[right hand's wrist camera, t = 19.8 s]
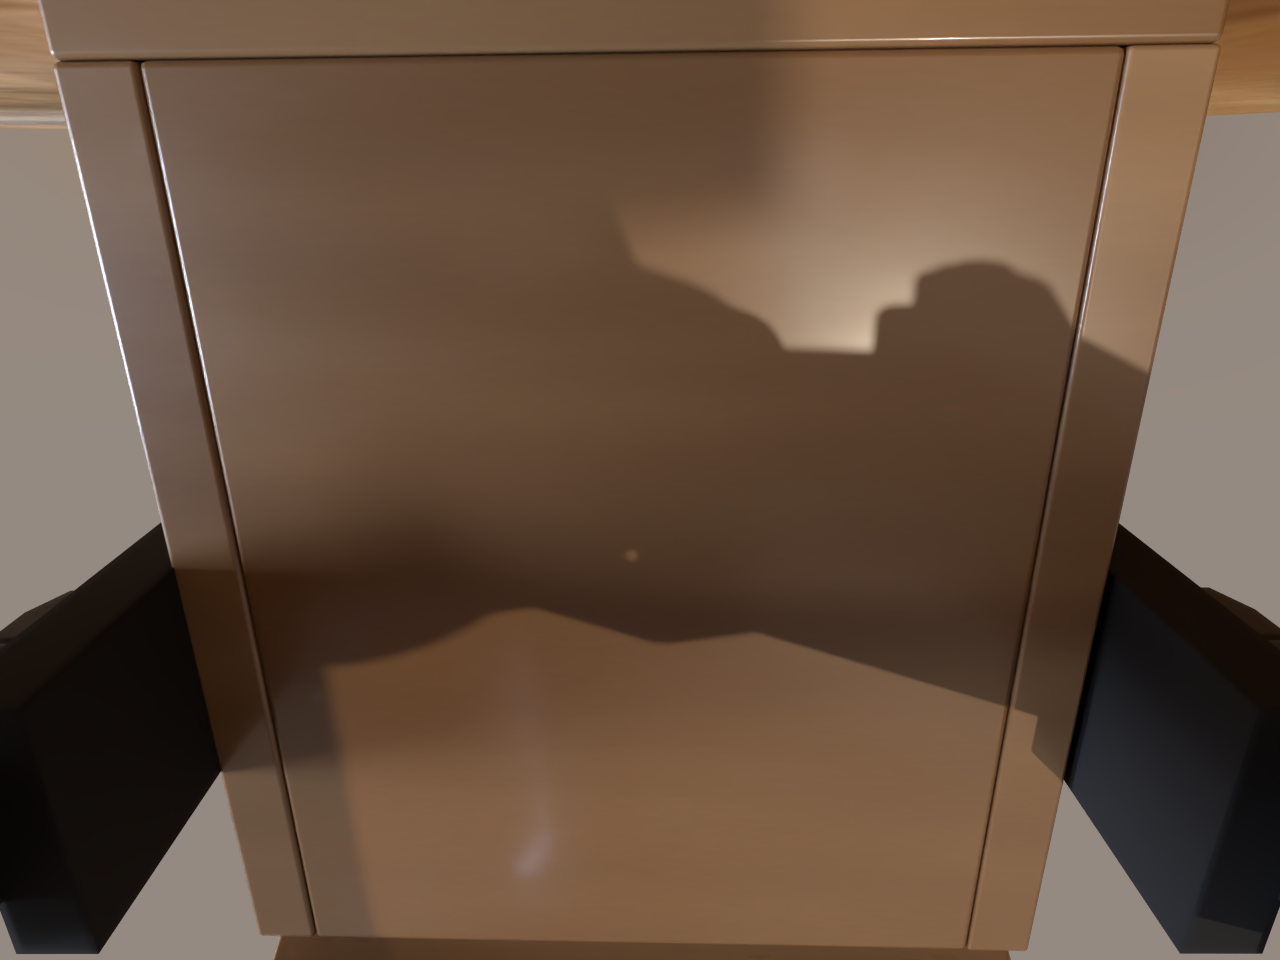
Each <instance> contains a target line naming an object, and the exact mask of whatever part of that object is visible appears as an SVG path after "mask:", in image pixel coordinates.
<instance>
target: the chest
mask: <svg viewBox="0 0 1280 960" xmlns="http://www.w3.org/2000/svg"><path fill="white" fill-rule="evenodd" d="M37 1H38V5H39V9H40V14H41V18H42V22H43V26H44V30H45V35H46V39H47V43H48V47H49V51H50V53H51V55H52V57H54V58H55V59H57V60H60V62H58V63H56V64H54V74H55V78H56V82H57V86H58V91H59V95H60V99H61V103H62V107H63V112H64V116H65V120H66V124H67V128H68V133H69V137H70V141H71V145H72V149H73V154H74V158H75V162H76V166H77V170H78V175H79V179H80V183H81V187H82V191H83V196H84V200H85V204H86V208H87V212H88V217H89V221H90V225H91V229H92V233H93V238H94V242H95V246H96V250H97V254H98V259H99V263H100V267H101V271H102V275H103V280H104V284H105V288H106V292H107V296H108V301H109V305H110V309H111V313H112V317H113V322H114V326H115V330H116V334H117V338H118V343H119V347H120V351H121V355H122V359H123V363H124V368H125V372H126V376H127V380H128V385H129V389H130V393H131V397H132V401H133V406H134V410H135V414H136V418H137V422H138V427H139V431H140V435H141V439H142V443H143V448H144V452H145V456H146V460H147V464H148V469H149V473H150V477H151V481H152V485H153V489H154V494H155V498H156V502H157V506H158V511H159V515H160V519H161V523H162V527H163V532H164V536H165V540H166V544H167V548H168V553H169V557H170V561H171V565H172V567H173V568H174V570H175V575H176V579H177V583H178V588H179V592H180V597H181V601H182V605H183V610H184V614H185V618H186V623H187V627H188V632H189V636H190V640H191V645H192V649H193V653H194V658H195V662H196V667H197V671H198V675H199V680H200V684H201V688H202V693H203V697H204V702H205V706H206V710H207V715H208V719H209V723H210V728H211V732H212V737H213V741H214V745H215V750H216V754H217V758H218V763H219V767H220V771H221V775H222V779H223V784H224V788H225V792H226V796H227V800H228V805H229V809H230V813H231V817H232V821H233V826H234V830H235V834H236V838H237V842H238V846H239V851H240V855H241V859H242V863H243V868H244V872H245V876H246V880H247V885H248V889H249V893H250V897H251V901H252V905H253V909H254V914H255V918H256V922H257V927H258V931H259V933H260V934H261V935H263V936H307V937H311V936H314V935H315V934H316V932H317V934H318V935H319V936H322V937H368V938H420V939H471V940H523V941H574V942H626V943H677V944H729V945H780V946H832V947H883V948H935V949H962V948H964V947H965V946H967V948H968V949H970V950H997V951H1025V950H1027V948H1028V943H1029V938H1030V933H1031V929H1032V924H1033V920H1034V915H1035V910H1036V906H1037V901H1038V896H1039V891H1040V887H1041V882H1042V878H1043V873H1044V868H1045V864H1046V859H1047V854H1048V850H1049V845H1050V840H1051V836H1052V831H1053V826H1054V821H1055V817H1056V812H1057V808H1058V803H1059V799H1060V794H1061V789H1062V785H1063V780H1064V775H1065V771H1066V766H1067V761H1068V757H1069V752H1070V747H1071V743H1072V738H1073V733H1074V729H1075V724H1076V719H1077V715H1078V710H1079V705H1080V701H1081V696H1082V691H1083V687H1084V682H1085V677H1086V673H1087V668H1088V663H1089V659H1090V654H1091V649H1092V645H1093V640H1094V636H1095V631H1096V626H1097V622H1098V617H1099V612H1100V608H1101V603H1102V598H1103V594H1104V589H1105V584H1106V580H1107V575H1108V570H1109V566H1110V561H1111V556H1112V552H1113V547H1114V542H1115V538H1116V533H1117V528H1118V524H1119V519H1120V514H1121V510H1122V505H1123V500H1124V496H1125V491H1126V486H1127V482H1128V477H1129V473H1130V468H1131V463H1132V459H1133V454H1134V449H1135V445H1136V440H1137V435H1138V430H1139V426H1140V421H1141V417H1142V412H1143V407H1144V403H1145V398H1146V393H1147V389H1148V384H1149V379H1150V375H1151V370H1152V365H1153V361H1154V356H1155V351H1156V347H1157V342H1158V337H1159V333H1160V328H1161V324H1162V319H1163V314H1164V309H1165V305H1166V300H1167V295H1168V291H1169V286H1170V282H1171V277H1172V272H1173V267H1174V263H1175V258H1176V254H1177V249H1178V244H1179V240H1180V235H1181V230H1182V226H1183V221H1184V216H1185V212H1186V207H1187V202H1188V198H1189V193H1190V188H1191V184H1192V179H1193V174H1194V170H1195V165H1196V161H1197V156H1198V151H1199V146H1200V142H1201V137H1202V133H1203V128H1204V123H1205V119H1206V114H1207V109H1208V105H1209V100H1210V95H1211V91H1212V86H1213V81H1214V77H1215V72H1216V67H1217V63H1218V58H1219V53H1220V46H1219V45H1216V44H1214V43H1213V42H1215V41H1218V40H1219V39H1220V37H1221V35H1222V33H1223V29H1224V24H1225V20H1226V15H1227V10H1228V6H1229V1H1230V0H37ZM1211 43H1213V44H1211Z"/></svg>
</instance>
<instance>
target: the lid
mask: <svg viewBox="0 0 1280 960" xmlns="http://www.w3.org/2000/svg"><path fill="white" fill-rule="evenodd" d="M273 960H1011V959H1010V955H1009V952H1008V951H997V950H970V949H968V948H967V946H965V947H964V948H962V949H935V948H883V947H832V946H780V945H729V944H677V943H626V942H574V941H523V940H471V939H420V938H368V937H322V936H319V935H318V934H317V932H316V934H315V935H314V936H311V937H307V936H280V938H279V941H278V944H277V947H276V950H275V954H274V957H273Z"/></svg>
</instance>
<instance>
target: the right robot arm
mask: <svg viewBox="0 0 1280 960" xmlns="http://www.w3.org/2000/svg"><path fill="white" fill-rule="evenodd" d="M220 772H221V771H220V767H219V763H218V758H217V754H216V750H215V745H214V741H213V737H212V732H211V728H210V723H209V719H208V715H207V710H206V706H205V702H204V697H203V693H202V688H201V684H200V680H199V675H198V671H197V667H196V662H195V658H194V653H193V649H192V645H191V640H190V636H189V632H188V627H187V623H186V618H185V614H184V610H183V605H182V601H181V597H180V592H179V588H178V583H177V579H176V575H175V570H174V568H173V567H172V565H171V561H170V557H169V553H168V548H167V544H166V540H165V536H164V532H163V527H162V523H160V524H159V525H157V526H156V527H155V528H153V529H152V530H151V531H150V532H148V533H147V534H146V535H145V536H143V537H142V538H141V539H139V540H138V541H137V542H136V543H134V544H133V545H132V546H131V547H129V548H128V549H127V550H125V551H124V552H123V553H122V554H120V555H119V556H118V557H117V558H115V559H114V560H113V561H112V562H110V563H109V564H108V565H106V566H105V567H104V568H103V569H101V570H100V571H99V572H97V573H96V574H95V575H94V576H92V577H91V578H90V579H89V580H87V581H86V582H85V583H83V584H82V585H81V586H80V587H78V588H77V589H76V590H75V591H69V592H67V593H65V594H63V595H61V596H59V597H57V598H55V599H53V600H50V601H48V602H46V603H44V604H42V605H40V606H38V607H36V608H34V609H32V610H29V611H27V612H25V613H24V614H22V615H21V616H20V617H18V618H17V619H16V620H14V621H13V622H12V623H11V624H9V625H8V626H7V627H5V628H4V629H3V630H1V631H0V911H1V914H2V917H3V919H4V922H5V924H6V927H7V930H8V933H9V935H10V938H11V940H12V943H13V946H14V949H15V951H16V954H99V952H100V951H101V949H102V948H103V946H104V945H105V943H106V942H107V940H108V939H109V937H110V936H111V934H112V933H113V932H114V930H115V929H116V927H117V926H118V924H119V923H120V921H121V920H122V918H123V917H124V915H125V914H126V912H127V911H128V909H129V908H130V906H131V905H132V903H133V902H134V900H135V899H136V897H137V896H138V894H139V893H140V891H141V890H142V888H143V887H144V885H145V884H146V882H147V881H148V879H149V878H150V876H151V875H152V873H153V872H154V870H155V869H156V867H157V866H158V864H159V863H160V861H161V860H162V858H163V857H164V855H165V854H166V852H167V851H168V849H169V848H170V846H171V845H172V843H173V842H174V840H175V839H176V837H177V836H178V834H179V833H180V831H181V830H182V828H183V827H184V825H185V824H186V822H187V821H188V819H189V818H190V816H191V815H192V813H193V812H194V811H195V809H196V808H197V806H198V805H199V803H200V802H201V800H202V799H203V797H204V796H205V794H206V793H207V791H208V790H209V788H210V787H211V785H212V784H213V782H214V781H215V779H216V778H217V776H218V775H219V773H220ZM1064 781H1065V782H1066V784H1067V785H1068V787H1069V788H1070V790H1071V791H1072V792H1073V794H1074V796H1075V797H1076V798H1077V800H1078V801H1079V803H1080V804H1081V806H1082V807H1083V809H1084V810H1085V812H1086V813H1087V815H1088V816H1089V818H1090V819H1091V821H1092V822H1093V824H1094V825H1095V827H1096V828H1097V830H1098V831H1099V833H1100V834H1101V836H1102V837H1103V839H1104V840H1105V842H1106V843H1107V845H1108V846H1109V848H1110V849H1111V851H1112V852H1113V854H1114V855H1115V857H1116V858H1117V860H1118V861H1119V863H1120V864H1121V866H1122V867H1123V869H1124V870H1125V872H1126V873H1127V875H1128V876H1129V878H1130V879H1131V881H1132V882H1133V884H1134V885H1135V887H1136V888H1137V890H1138V891H1139V893H1140V894H1141V896H1142V897H1143V899H1144V900H1145V902H1146V903H1147V905H1148V906H1149V908H1150V909H1151V911H1152V912H1153V914H1154V915H1155V917H1156V918H1157V920H1158V921H1159V923H1160V924H1161V925H1162V927H1163V929H1164V930H1165V931H1166V933H1167V934H1168V936H1169V938H1170V939H1171V941H1172V942H1173V944H1174V945H1175V946H1176V948H1177V949H1178V951H1179V952H1180V953H1224V954H1225V953H1229V954H1230V953H1231V954H1232V953H1235V954H1239V953H1241V954H1242V953H1243V954H1244V953H1245V954H1252V953H1253V954H1261V953H1263V950H1264V947H1265V945H1266V942H1267V939H1268V937H1269V934H1270V931H1271V929H1272V926H1273V923H1274V921H1275V918H1276V915H1277V913H1278V910H1279V907H1280V628H1279V627H1278V626H1276V625H1275V624H1274V623H1272V622H1271V621H1270V620H1268V619H1267V618H1266V617H1264V616H1263V615H1262V614H1260V613H1259V612H1258V611H1256V610H1255V609H1253V608H1251V607H1249V606H1247V605H1245V604H1242V603H1240V602H1238V601H1236V600H1234V599H1232V598H1230V597H1228V596H1226V595H1223V594H1221V593H1219V592H1217V591H1215V590H1213V589H1211V588H1201V587H1199V586H1198V585H1197V584H1195V583H1194V582H1193V581H1192V580H1190V579H1189V578H1188V577H1187V576H1185V575H1184V574H1183V573H1181V572H1180V571H1179V570H1178V569H1176V568H1175V567H1174V566H1173V565H1171V564H1170V563H1169V562H1168V561H1166V560H1165V559H1164V558H1162V557H1161V556H1160V555H1159V554H1157V553H1156V552H1155V551H1154V550H1152V549H1151V548H1150V547H1148V546H1147V545H1146V544H1145V543H1143V542H1142V541H1141V540H1140V539H1138V538H1137V537H1136V536H1134V535H1133V534H1132V533H1131V532H1129V531H1128V530H1127V529H1126V528H1124V527H1123V526H1122V525H1120V524H1118V528H1117V533H1116V538H1115V542H1114V547H1113V552H1112V556H1111V561H1110V566H1109V570H1108V575H1107V580H1106V584H1105V589H1104V594H1103V598H1102V603H1101V608H1100V612H1099V617H1098V622H1097V626H1096V631H1095V636H1094V640H1093V645H1092V649H1091V654H1090V659H1089V663H1088V668H1087V673H1086V677H1085V682H1084V687H1083V691H1082V696H1081V701H1080V705H1079V710H1078V715H1077V719H1076V724H1075V729H1074V733H1073V738H1072V743H1071V747H1070V752H1069V757H1068V761H1067V766H1066V771H1065V775H1064Z"/></svg>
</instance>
